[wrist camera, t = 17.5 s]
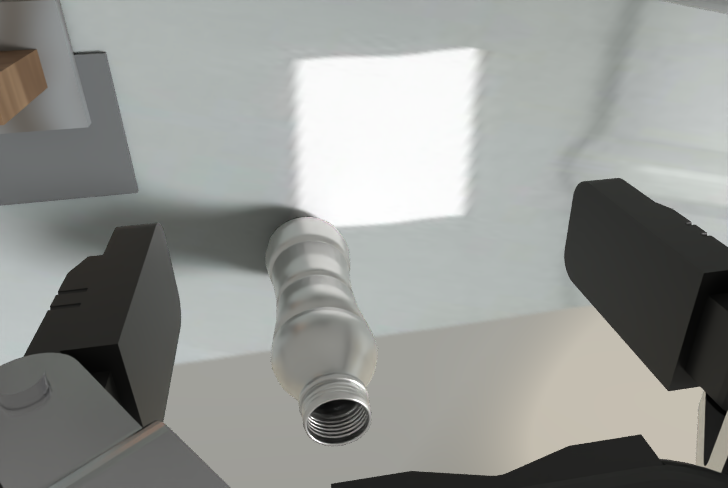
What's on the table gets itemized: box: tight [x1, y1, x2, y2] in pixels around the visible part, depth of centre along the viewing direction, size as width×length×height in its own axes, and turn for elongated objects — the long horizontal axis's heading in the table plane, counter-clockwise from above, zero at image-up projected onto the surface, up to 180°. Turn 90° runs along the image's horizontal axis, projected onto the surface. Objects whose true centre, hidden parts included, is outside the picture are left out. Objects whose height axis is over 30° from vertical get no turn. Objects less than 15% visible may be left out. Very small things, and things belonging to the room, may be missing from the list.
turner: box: [0, 0, 91, 134], centre depth 34 cm, size 6×8×9 cm
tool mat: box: [0, 52, 138, 205], centre depth 40 cm, size 10×10×1 cm
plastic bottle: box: [265, 217, 378, 446], centre depth 40 cm, size 6×7×20 cm
